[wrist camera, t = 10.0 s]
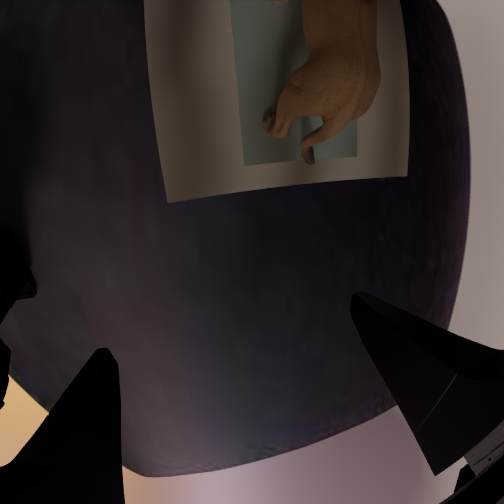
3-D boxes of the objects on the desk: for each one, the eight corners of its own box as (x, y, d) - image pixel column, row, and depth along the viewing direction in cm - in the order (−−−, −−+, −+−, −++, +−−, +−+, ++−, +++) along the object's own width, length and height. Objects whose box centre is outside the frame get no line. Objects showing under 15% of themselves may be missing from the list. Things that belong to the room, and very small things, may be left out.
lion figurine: (230, -58, 8) (270, -151, 1) (318, -53, 9) (402, -115, 1) (264, 168, 16) (339, 239, 8) (349, 157, 16) (459, 212, 8)
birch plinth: (171, 188, 18) (167, 204, 16) (149, -48, 9) (144, -70, 7) (383, 165, 20) (408, 176, 18) (367, -38, 11) (389, -49, 9)
